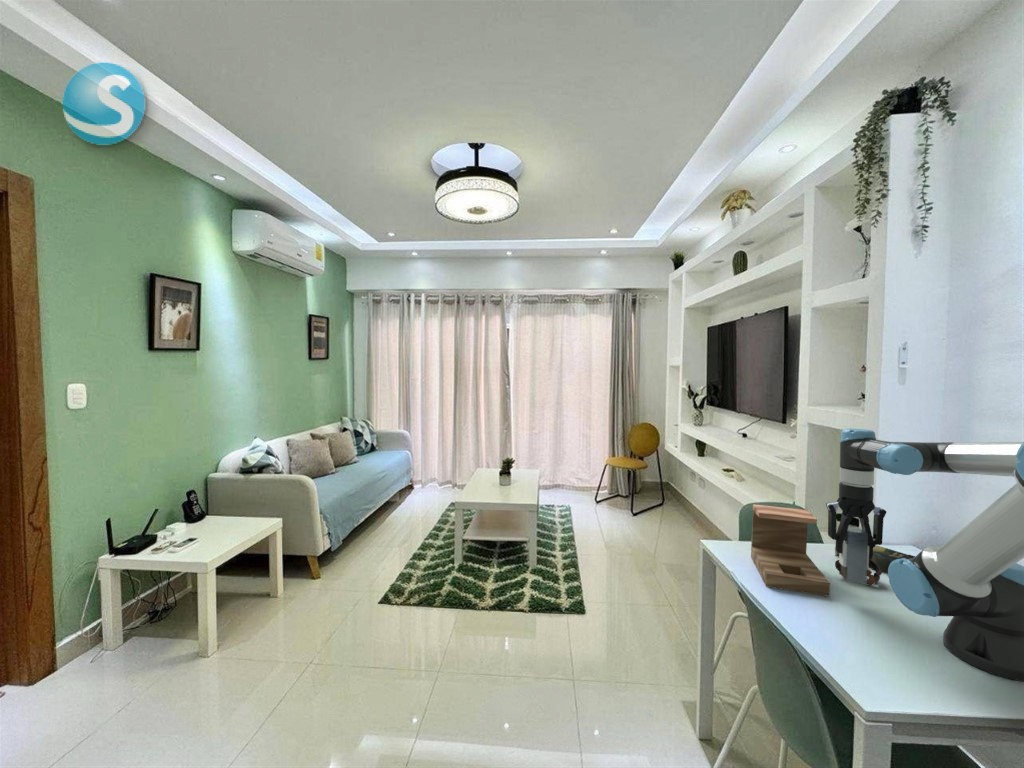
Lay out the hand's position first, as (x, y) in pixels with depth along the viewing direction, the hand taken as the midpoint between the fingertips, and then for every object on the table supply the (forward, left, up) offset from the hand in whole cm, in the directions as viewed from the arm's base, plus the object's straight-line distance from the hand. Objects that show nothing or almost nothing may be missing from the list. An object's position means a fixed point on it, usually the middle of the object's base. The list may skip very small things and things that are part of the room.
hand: (853, 565), depth 118 cm
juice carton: (+30, -17, -11) cm, 37 cm away
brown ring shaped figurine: (+16, -7, -11) cm, 20 cm away
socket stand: (+11, +13, -10) cm, 20 cm away
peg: (0, 0, -4) cm, 4 cm away
